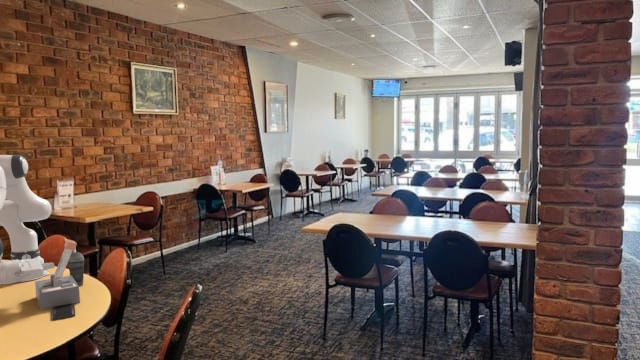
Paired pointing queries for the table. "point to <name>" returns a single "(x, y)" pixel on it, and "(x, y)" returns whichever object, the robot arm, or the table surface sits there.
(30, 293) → the table surface
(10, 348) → the table surface
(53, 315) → the phone
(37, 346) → the table surface
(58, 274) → the lever
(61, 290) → the switch box
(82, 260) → the beverage cup
